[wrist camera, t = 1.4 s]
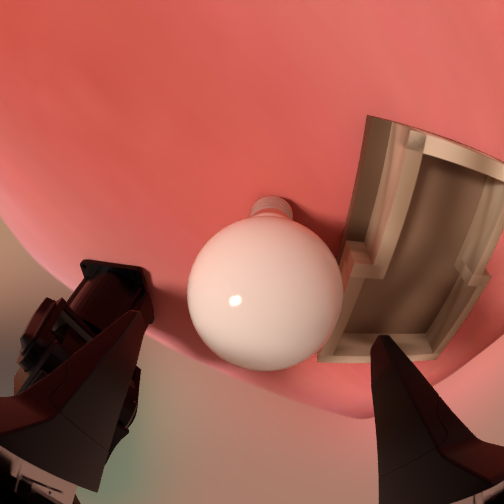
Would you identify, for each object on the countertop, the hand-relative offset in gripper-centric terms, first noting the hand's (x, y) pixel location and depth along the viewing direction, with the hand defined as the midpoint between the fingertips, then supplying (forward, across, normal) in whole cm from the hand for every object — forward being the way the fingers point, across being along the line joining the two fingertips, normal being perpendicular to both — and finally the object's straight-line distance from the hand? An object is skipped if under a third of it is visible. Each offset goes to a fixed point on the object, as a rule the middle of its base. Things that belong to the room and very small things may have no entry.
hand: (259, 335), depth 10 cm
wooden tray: (+10, -11, +2) cm, 15 cm away
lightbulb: (+10, 0, 0) cm, 10 cm away
